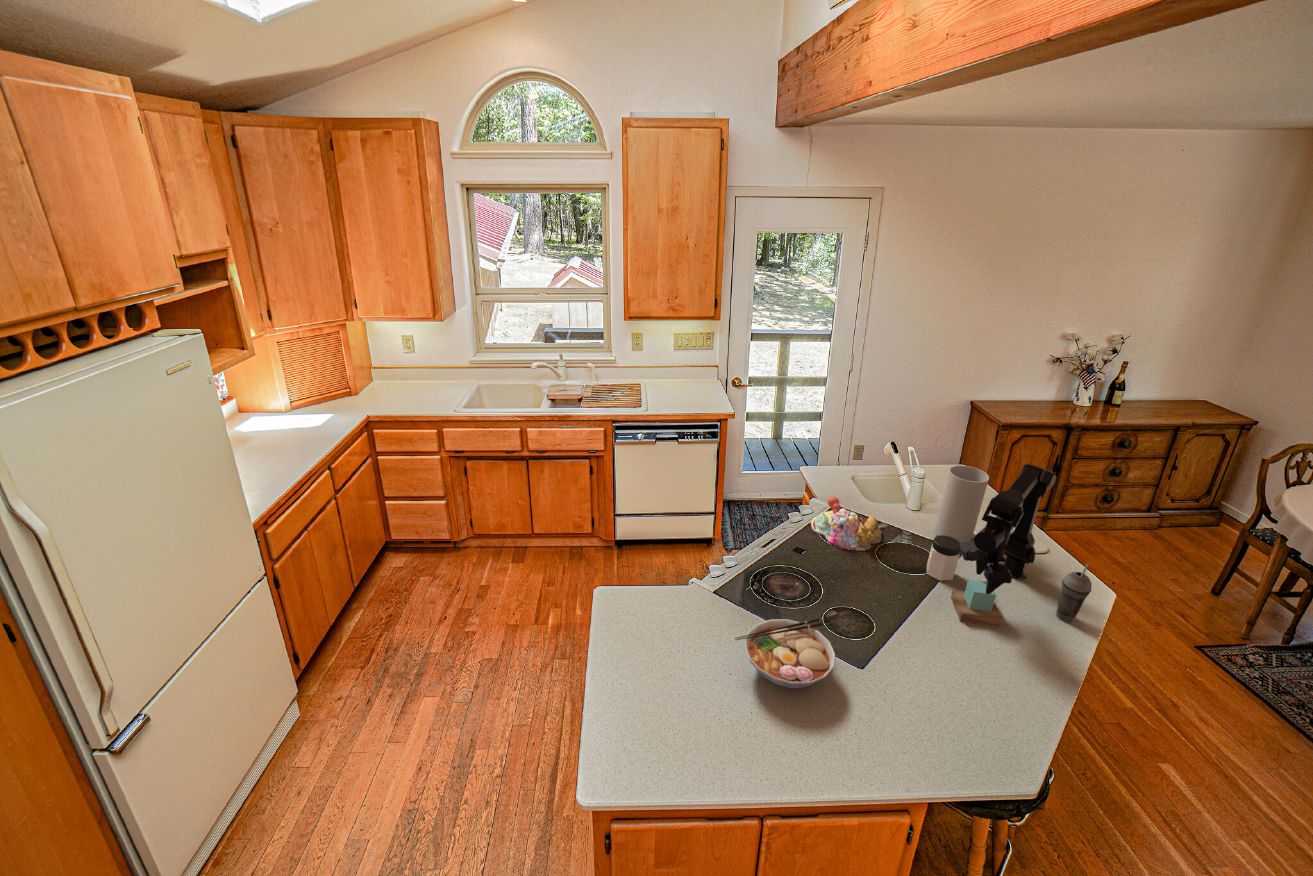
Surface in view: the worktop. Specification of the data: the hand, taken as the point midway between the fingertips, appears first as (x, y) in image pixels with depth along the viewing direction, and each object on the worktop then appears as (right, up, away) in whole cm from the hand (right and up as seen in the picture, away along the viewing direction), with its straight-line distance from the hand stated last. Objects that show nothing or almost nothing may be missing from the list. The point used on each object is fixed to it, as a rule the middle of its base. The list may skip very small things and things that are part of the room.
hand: (982, 583), depth 183 cm
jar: (-3, -2, +21) cm, 22 cm away
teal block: (0, -7, +3) cm, 7 cm away
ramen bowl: (-61, -18, -20) cm, 67 cm away
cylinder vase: (+11, +7, +43) cm, 45 cm away
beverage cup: (+26, -11, +3) cm, 28 cm away
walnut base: (0, -9, +4) cm, 10 cm away
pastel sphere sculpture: (-27, +8, +43) cm, 52 cm away
